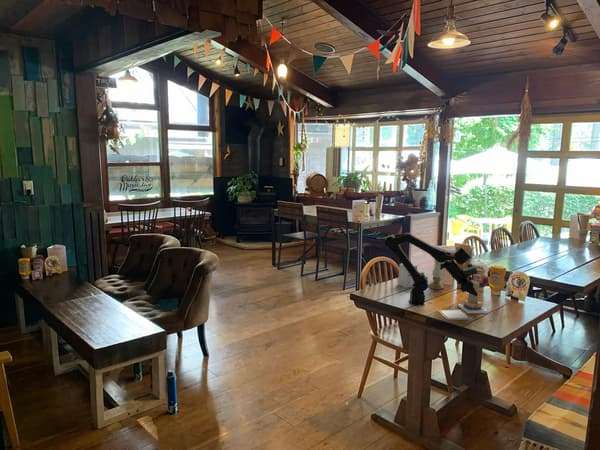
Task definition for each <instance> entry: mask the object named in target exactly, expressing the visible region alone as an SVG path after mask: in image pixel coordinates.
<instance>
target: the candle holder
mask: <svg viewBox="0 0 600 450" xmlns="http://www.w3.org/2000/svg"><path fill="white" fill-rule="evenodd" d="M434 263H435V264H434V268H433V270H432V272H431V275H432V278H431V279H432V281H431V282H429V283H428V288H430V289H432V290H444V289H445V286H444V285H443V283H442V282H440V281H441V280H442V278H441V277H442V276H443V271H442V270H440V262H438V261H437V260H435V259H434Z"/></svg>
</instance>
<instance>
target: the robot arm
mask: <svg viewBox="0 0 600 450" xmlns="http://www.w3.org/2000/svg"><path fill="white" fill-rule="evenodd" d="M404 243H409V244H410V245H412V246H414V247H416V248H418V249H420V250H422V251H423V252H425V253H427V254H428V255H430V257H432V258H433V259H434V261H435V260H437V261H438V262H440V270H441V271H442V270H443V269H445V270H446V271H447V272H448V274H450V275H451V277H452V278H453V279H454V280H455V282H457V284H458V285H459V290H460V291H461V292H462V293H464V292H466V293H468V294H469V293H470V294H472V295H474V296H476V297H477V296H478V297H479V293H478V294H477V292H476V291H475V289H474V287H473V285H474V284H473V282H474V281H473V280H472V277H471V276H473V275H477V274H478V275H479V272H478V270H477V267H476V265H474V264H473V265H472V264H471V263H468V264H467V265H466V267H465V268H462V267H460V266H459V265H464V264H465V263H467V262H468V261H469V260H470V259H471V258H473V256H471V254H470V253H469V252H468V251H467V250H466V249H464V248H463V246H461V247H459V248H458V249H457V250H456V251H455V252H450V251H446V249H444V248H441V247H437V246H434V245H432V244H429V243H427V242H426V241H424V240H423V239H421V238H419V237H417V236H415V235H413V234H412V233H411V232H404V233H400V234H399V233H398V234H395V235H394V234H388V235H386V238H385V239H384V246H386V247H387V249H388V250H389V251H391V252H392V253H394V254H395V255H396V257H397V258H398V260H399V261H400V262H401V263H400V264H403V265H404V267H405V268H406V269H407V271H408V272H409V274H410V275H411V276H412V279H413V281H414V284H413V285H412V287H411V290H410V292H409V293H410V294H409V299H408V302H409V303H410V304H411V306H425V305H426V304H425V302H426V295H425V291H426V290H428V288H429V287H428V284H429V280H428V276H426V275H425V273H424V272H423V271H421V272H420V271H418V268H417V269H416V268H415V267H414V265H415V264H414V263H412V261H411V259H409V257H408V256H407V255H406V253H405V252H404V251H403V249H402V246H401V244H404ZM413 264H414V265H413Z"/></svg>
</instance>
